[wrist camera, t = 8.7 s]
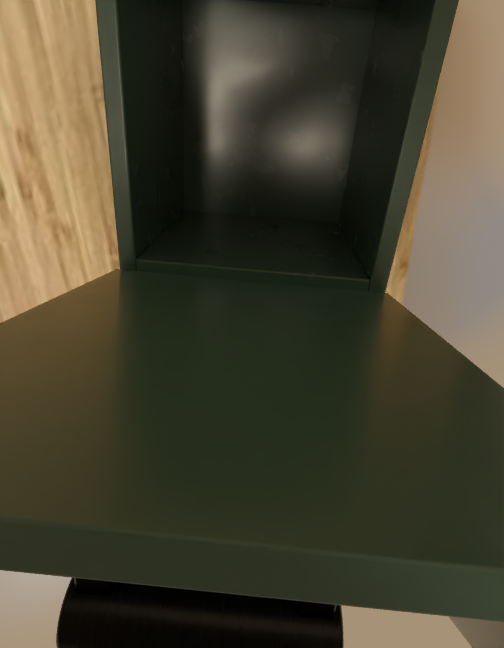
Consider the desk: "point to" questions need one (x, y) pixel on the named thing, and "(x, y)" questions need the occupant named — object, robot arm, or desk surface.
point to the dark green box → (267, 133)
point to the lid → (245, 462)
